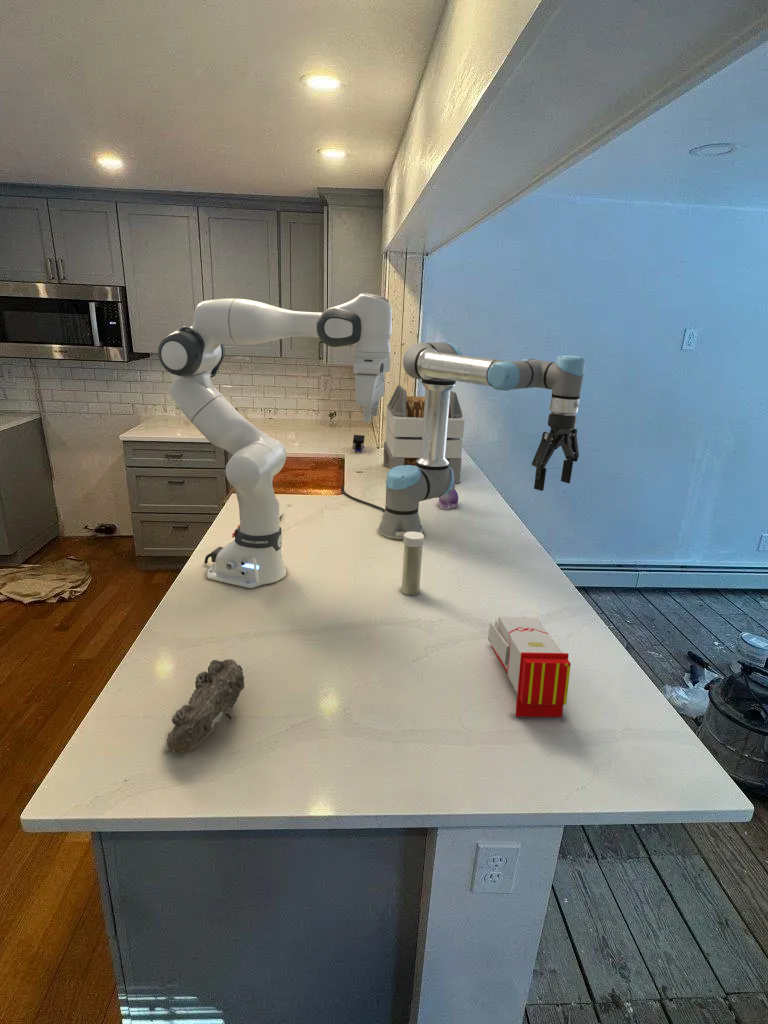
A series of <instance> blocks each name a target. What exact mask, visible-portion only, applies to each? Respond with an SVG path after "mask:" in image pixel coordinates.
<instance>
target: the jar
mask: <svg viewBox="0 0 768 1024" xmlns="http://www.w3.org/2000/svg"><path fill="white" fill-rule="evenodd" d="M423 546H424V544H423V545H422V546H420V547H409V546H406V545H405V544H404V543H403V561H402V575H401V577H402V578H401V593H402V594H404V595H407V596H415V595H418V594H419V593H420V589H421V587H420V586H421V571H422V559H423Z"/></svg>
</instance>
